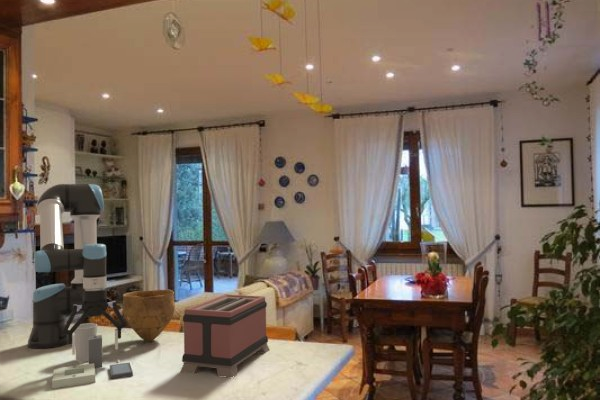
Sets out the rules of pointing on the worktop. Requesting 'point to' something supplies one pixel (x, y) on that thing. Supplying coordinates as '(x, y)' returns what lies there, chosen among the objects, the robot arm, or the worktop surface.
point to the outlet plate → (73, 375)
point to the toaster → (224, 333)
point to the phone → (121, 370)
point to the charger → (95, 350)
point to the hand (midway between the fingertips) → (95, 350)
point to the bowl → (148, 311)
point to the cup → (84, 340)
